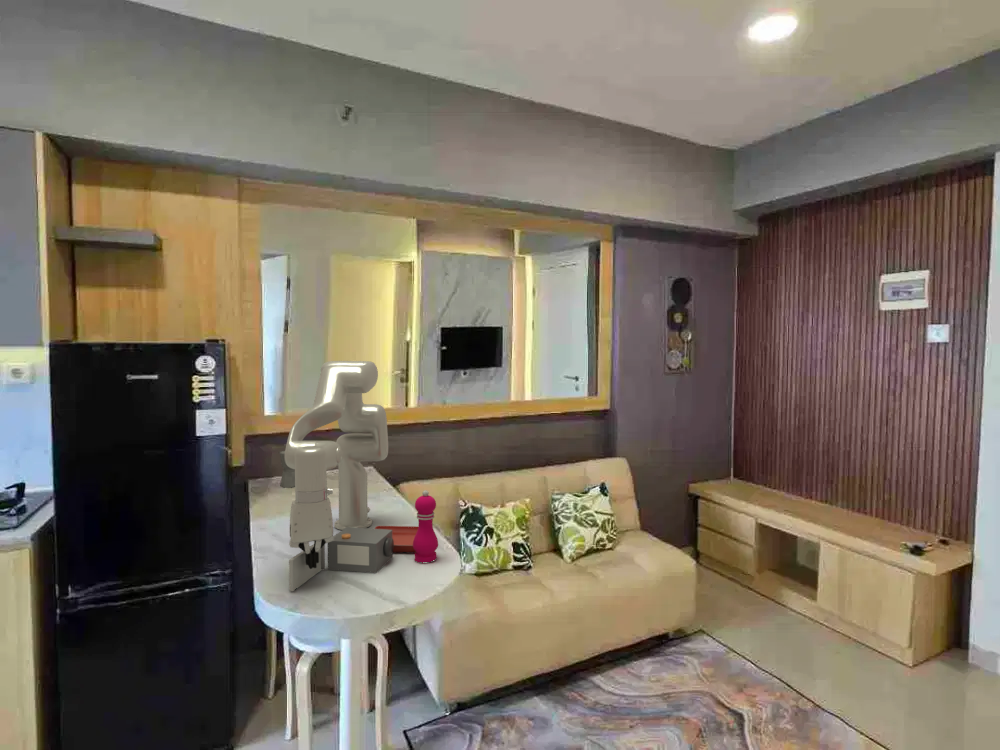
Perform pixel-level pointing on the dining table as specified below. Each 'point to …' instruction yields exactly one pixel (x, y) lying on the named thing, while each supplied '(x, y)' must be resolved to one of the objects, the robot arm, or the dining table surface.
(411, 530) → the plant saucer
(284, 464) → the coffeepot
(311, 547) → the side door
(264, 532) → the dining table surface
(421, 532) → the pepper mill
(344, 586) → the dining table surface
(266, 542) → the dining table surface
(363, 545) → the camera case
